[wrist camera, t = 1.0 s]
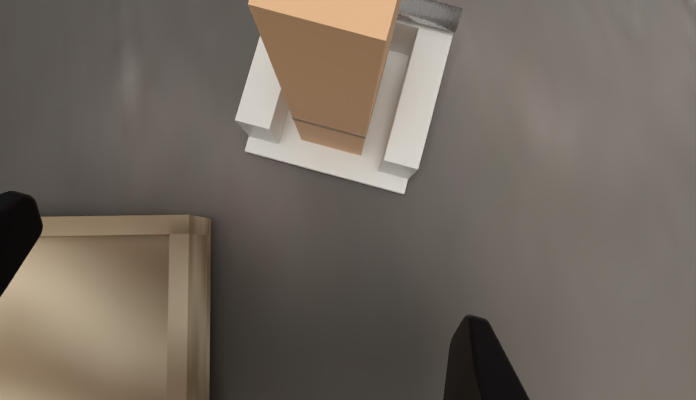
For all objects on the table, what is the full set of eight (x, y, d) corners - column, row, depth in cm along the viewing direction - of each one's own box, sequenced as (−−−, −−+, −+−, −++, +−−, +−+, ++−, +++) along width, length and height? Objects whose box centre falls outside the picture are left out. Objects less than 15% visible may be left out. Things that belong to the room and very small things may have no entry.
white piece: (403, 194, 23) (417, 183, 19) (246, 152, 23) (224, 131, 19) (441, 46, 24) (464, 2, 19) (289, 6, 24) (277, -47, 19)
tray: (207, 546, 21) (183, 601, 18) (-126, 555, 21) (-211, 612, 18) (211, 218, 23) (189, 214, 19) (-102, 223, 23) (-178, 220, 19)
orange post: (361, 156, 23) (386, 42, 10) (300, 140, 23) (247, 5, 10) (384, 69, 23) (439, -152, 10) (325, 53, 23) (305, -187, 10)
